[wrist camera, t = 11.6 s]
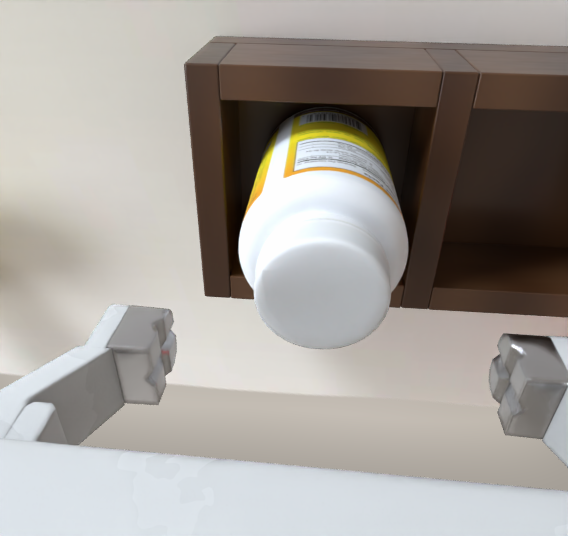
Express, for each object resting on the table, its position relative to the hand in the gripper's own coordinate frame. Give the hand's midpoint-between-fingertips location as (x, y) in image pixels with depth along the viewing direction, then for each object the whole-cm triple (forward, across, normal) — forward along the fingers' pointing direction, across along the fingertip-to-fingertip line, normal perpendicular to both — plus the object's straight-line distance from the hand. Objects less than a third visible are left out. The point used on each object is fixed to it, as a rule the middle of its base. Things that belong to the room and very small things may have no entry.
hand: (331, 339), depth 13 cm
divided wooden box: (+14, -4, 0) cm, 14 cm away
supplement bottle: (+12, 0, 0) cm, 12 cm away
